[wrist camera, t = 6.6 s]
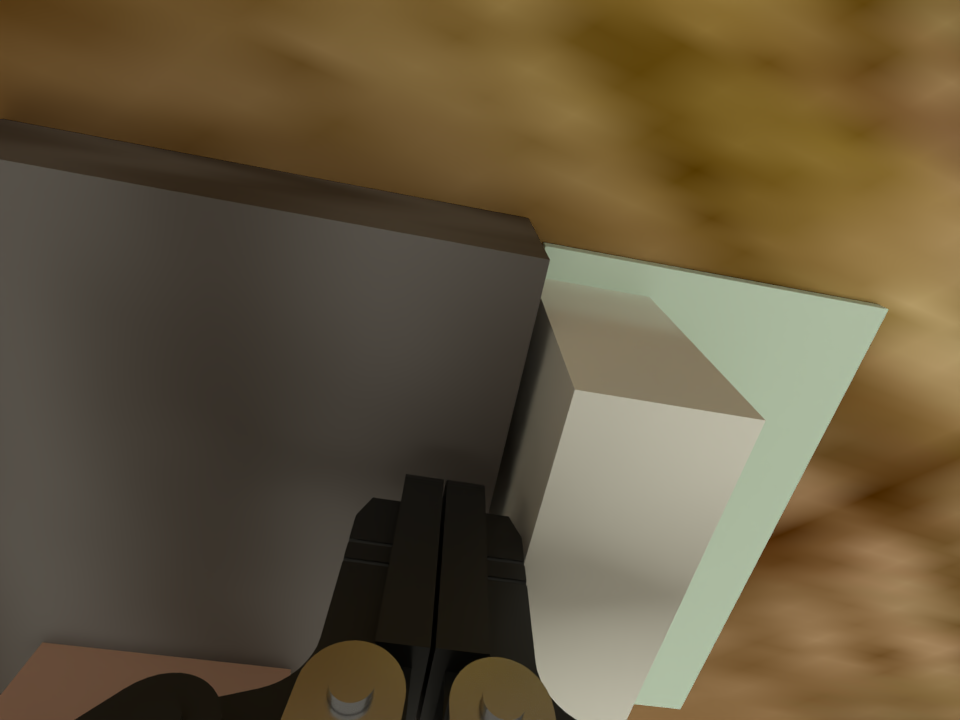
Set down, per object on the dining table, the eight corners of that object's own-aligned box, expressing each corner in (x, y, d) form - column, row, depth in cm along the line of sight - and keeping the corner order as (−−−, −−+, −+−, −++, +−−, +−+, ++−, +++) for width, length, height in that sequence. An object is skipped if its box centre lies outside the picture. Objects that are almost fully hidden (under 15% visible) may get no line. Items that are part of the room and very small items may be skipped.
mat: (442, 672, 20) (441, 683, 20) (543, 242, 14) (545, 245, 13) (676, 698, 21) (680, 708, 21) (877, 304, 14) (888, 309, 14)
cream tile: (476, 729, 11) (615, 743, 12) (574, 389, 8) (765, 420, 8) (474, 527, 17) (569, 540, 17) (532, 276, 14) (649, 296, 14)
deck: (84, 643, 19) (-6, 768, 16) (2, 119, 12) (-194, 123, 9) (426, 680, 20) (417, 805, 17) (528, 218, 13) (550, 259, 10)
